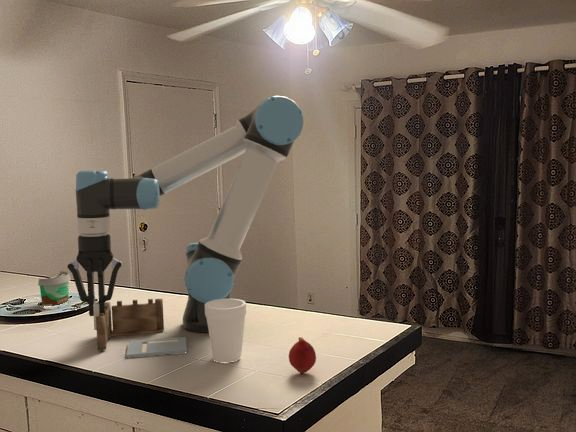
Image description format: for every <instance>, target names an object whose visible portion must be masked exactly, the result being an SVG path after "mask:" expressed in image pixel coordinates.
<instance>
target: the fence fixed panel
mask: <svg viewBox="0 0 576 432" xmlns="http://www.w3.org/2000/svg"><path fill="white" fill-rule="evenodd" d="M147 302H148V303H138V299H132V304H130V303H129V304H123V300H117V301H116V305H115V304H114V305H111V302H110V301H106V302H105V305H108V308H109V319H110V336H109V337H118V336H119V337H120V336H131V335H132V336H133V335H146V334H157V333H159V332H161V333H164V331H165V322H164V321H165V320H164V303H163V302H164V300H163V298H155V299H154V298H148V299H147Z"/></svg>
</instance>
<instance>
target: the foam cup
mask: <svg viewBox="0 0 576 432" xmlns="http://www.w3.org/2000/svg"><path fill="white" fill-rule="evenodd" d="M246 315H247V303H246V301H245V300H242V299H238V298H232V299H217V300H212V301H209V302H207V303H205V316H206V318H207V324H208V330H209V332H208V335H209V341H210V347H211V353H212V358H214V359H213V361H214V360H215V361H217V362H231V361H236V360H238V359H239V358H240V357H241V358H242V350H243V340H244V331H245V330H244V329H245V321H246ZM215 361H214V362H215ZM217 362H216V363H217Z"/></svg>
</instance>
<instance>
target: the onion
mask: <svg viewBox="0 0 576 432" xmlns="http://www.w3.org/2000/svg"><path fill="white" fill-rule="evenodd" d="M316 354H317V353H316V351H315V349H314V346H313V345H312V344H311V343H309V342H308V341H306V340H305V339H304V338H303V337H302V336H300V337H298V341H296V342H295V343H294V344H293V345H292V346H291V348H290V350H289V352H288V359H289V360H288V361H289V364H290V366H291V367H293V368H294V369H295V371H297V372H298V373H299V372H300V373H299V374H301V373H304V372H305V373H308V371H310V370H311V369H312V368H313V367H314V366H315V363H316V361H317V356H316ZM305 373H304V374H305Z"/></svg>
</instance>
